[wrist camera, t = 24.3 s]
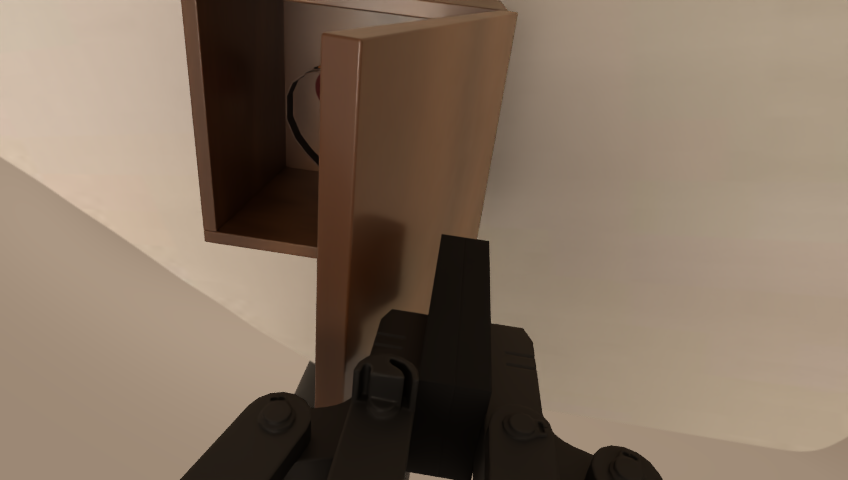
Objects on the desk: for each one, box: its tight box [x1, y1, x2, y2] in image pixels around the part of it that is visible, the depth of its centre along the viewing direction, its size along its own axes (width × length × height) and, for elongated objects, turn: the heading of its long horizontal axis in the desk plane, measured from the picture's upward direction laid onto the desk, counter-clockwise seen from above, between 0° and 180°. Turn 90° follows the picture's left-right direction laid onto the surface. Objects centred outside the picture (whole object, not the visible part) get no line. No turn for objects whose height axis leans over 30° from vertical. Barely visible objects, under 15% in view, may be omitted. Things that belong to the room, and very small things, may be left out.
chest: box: [181, 0, 508, 258], centre depth 33 cm, size 16×15×13 cm
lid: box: [315, 10, 518, 408], centre depth 19 cm, size 16×15×1 cm
